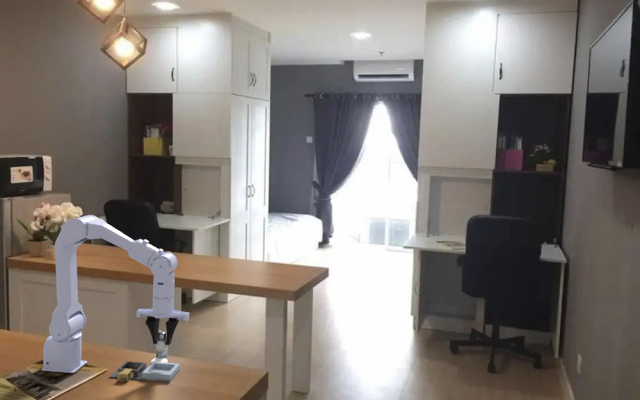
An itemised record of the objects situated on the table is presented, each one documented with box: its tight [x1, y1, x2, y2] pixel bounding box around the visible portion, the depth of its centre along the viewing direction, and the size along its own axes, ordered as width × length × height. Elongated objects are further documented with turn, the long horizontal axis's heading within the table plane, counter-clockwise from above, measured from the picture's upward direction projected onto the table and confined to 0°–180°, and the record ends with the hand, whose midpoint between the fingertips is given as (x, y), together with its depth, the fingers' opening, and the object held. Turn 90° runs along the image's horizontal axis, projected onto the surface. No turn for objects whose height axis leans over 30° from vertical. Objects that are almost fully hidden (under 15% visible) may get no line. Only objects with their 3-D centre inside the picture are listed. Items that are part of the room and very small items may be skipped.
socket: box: [109, 360, 149, 381], centre depth 156 cm, size 9×9×2 cm
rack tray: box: [141, 362, 181, 383], centre depth 155 cm, size 8×8×2 cm
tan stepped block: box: [117, 368, 134, 383], centre depth 152 cm, size 3×4×2 cm
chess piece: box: [150, 330, 169, 364], centre depth 163 cm, size 5×5×10 cm
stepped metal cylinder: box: [155, 330, 169, 359], centre depth 154 cm, size 3×3×7 cm
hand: (162, 343), depth 154 cm, fingers closed on stepped metal cylinder, 3 cm apart
